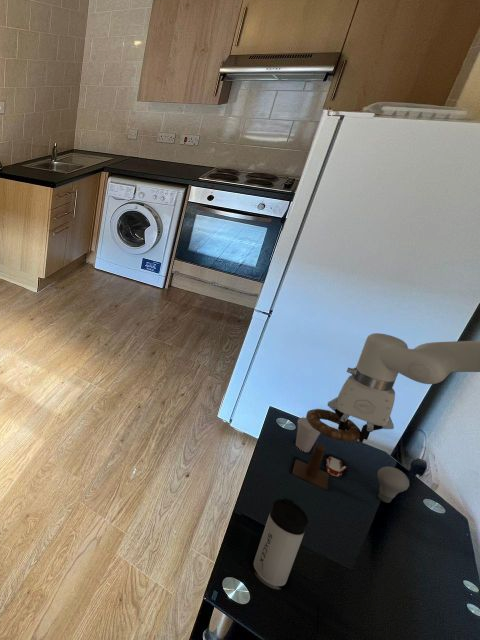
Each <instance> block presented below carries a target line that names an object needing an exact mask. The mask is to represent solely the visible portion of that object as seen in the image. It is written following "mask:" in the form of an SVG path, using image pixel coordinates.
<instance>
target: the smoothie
mask: <svg viewBox="0 0 480 640" xmlns="http://www.w3.org/2000/svg"><path fill="white" fill-rule="evenodd" d="M320 435H321V433H320V432H319V431H317V430H316V429H314V428H313V427H312V426H311V425H310V424H309V422H308V421H307V420H306V417H304V416H303V417H298V419H297V430H296V437H295V445H296V446H297V447H298V448H299V449H300V450H299V449H298V448H297V447H296V446H295V447H296V448H297V449H298V450H299V451H301V450H302V451H301V452H303V451H304V453H310V452H311V450H312V448H313V447H314V446H315V444H316V442H317V440H318V438H319V436H320Z"/></svg>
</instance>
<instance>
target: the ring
mask: <svg viewBox="0 0 480 640" xmlns="http://www.w3.org/2000/svg"><path fill="white" fill-rule="evenodd" d="M305 418H306V420H307V421H308V422H309V424H310V425H311V426H312V427H313V428H314V429H316V430H317V431H319V432H320V434H321V435H323V436H326V437H328V438H331V439H333V440H335V441H340V442H345V443H346V442H347V443H351V442H356V441H359V439H360V436H361V429H360V428H359V427H358V426H357V425H356V424H355V422H354V421H352V420H351V419H349V418H348V425H347V428H346V430H339V429H338V428H335V427H333V426H331V425H328V424H326V423H325V422H323V421H324V420H325V421H328V422H331V423H333V424H337V425H338V426H339V423H340V421H341V420H340V418H339V416H338V415H337V414H336V413H335V411H333V410H329V409H322V408H314V409H309V410H307V412H306V416H305ZM322 420H323V421H322Z"/></svg>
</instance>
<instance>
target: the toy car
mask: <svg viewBox="0 0 480 640" xmlns="http://www.w3.org/2000/svg"><path fill="white" fill-rule="evenodd" d="M324 460H325V463H326V464H325V468H324V469H325V471H326V473H328V474H329V475H331V476H334V477H336V478H339V477H341V476H342V475H343V473H344V471H345V470H346V469H348V467H347V466H346V465H343V461H342V460H340V459H338V458H336V457H334V456H328V458H325V459H324Z"/></svg>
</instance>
